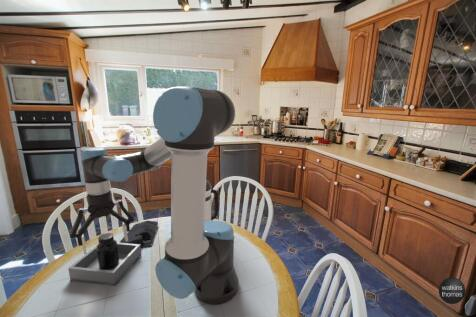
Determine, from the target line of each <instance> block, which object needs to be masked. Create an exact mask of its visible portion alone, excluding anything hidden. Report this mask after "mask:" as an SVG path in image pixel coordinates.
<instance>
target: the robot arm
mask: <svg viewBox="0 0 476 317" xmlns="http://www.w3.org/2000/svg"><path fill="white" fill-rule="evenodd" d="M235 118H236V108H235V104H234V102H233V101H232V99H231V98H230V96H228V95H227V94H226V93H225V92H223V91H221V90H218V89H207V88H201V87H191V86H173V87H169V88H167V89H165V90H164V91H163V92H162V93H161V95H160V96H159V97H158V98H157V100H156V102H155V104H154V107H153V111H152V121H153V122H152V123H153V126H154V129H156V133H157V135H158V136H159V137H160V138H158V139H157V140H156V141H155V142H153V143H152V144H150V145H149V146H147V147H146V148H144V149H142V151H138V152H132V153H125V154H121V155H117V156H116V155H115V156H110V155H109V156H108V153H107V150H106V149H105V148H104V147H93V148H91V147H90V148H85V149H83V150H81V152H80V156H81V161H80V162H81V164H82V165H81V166H82V171H83V177H84V182H85V183H84V184H85V190H86V194H87V195H86V198H87V204H88V206H87V207H85V208H82V207H78V210H77V216H76V219H75V221H74V223H73V226H72V228H71V231H70V233H69V236H70V238H71V239H74V238H76V239H77V244H78V246H79V247H82V250H83V251H82V252H83V254H84V255H85V254H87V253H88V252H87V248H86V247H87V246H86V241H85V236H84V234H85V232H86V231H87V229H88V228H89V226H90V225H91V224H92V222H94V220H96V218H97V219H100V218H103V217H108V216H109V215H111V216H113V217H115V218H116V219H117V220H119V221H121V222H122V230H123V231H122V232H123V237H124V239H125V240H126V241H128V236H127V233H128V232H129V231H130V230H131V228H130V224H131V223H133V222H134V221H135V218H134V217H133V215H132V214H131V213H129V211H128V210H127V208H126V207H125V206H124V202H123V201H122V200H121V199H119V198H118V200H116V201H114V200H113V195H112V185H111V182H115V183H116V182H117V183H118V182H119V183H123V182H126V181H128V180H129V179H130V178H131V177H132V176H135V175H138V174H142V173H146V172H150V171H154V170H157V169H159V168H161V167H162V166H163V164H164V163H165V162H167V161H168V160H170V159H171V160H170V161H171V162H170V164H171V165H170V166H171V167H170V169H171V170H170V172H171V174H170V175H171V176H170V178H171V180H170V183H171V185H170V186H171V187H170V188H171V189H170V190H171V191H170V195H171V196H170V198H171V199H170V201H171V202H170V237H169V238H168V239H167V240H166V242H165V245H164V257H163V258H160V259H159V261H157V263H156V265H155V269H154V270H155V276H156V278H157V281H158V282H159V284H160V286H161V287H162V288H163V290H164V291H165V292H167V293H168V294H169V295H170V296H171V297H173V298H175V299H179V300H182V299H186V298H188V297H189V296H191V294H193V293H194V295H195V296H196V298H197V299H198V300H199V301H200V302H203V303H205V304H209V305H220V304H224V303H227V302H229V301H230V300H232V299H233V298H234V297H235V296H236V295H237V293H238V291H239V284H240V283H239V278H238V275H237V274H238V273H237V271H236V268H235V265H234V258H235V257H234V255H235V254H234V253H235V252H234V247H235V246H234V245H235V241H234V240H235V236H234V235H235V234H234V233H235V232H234V228H233V226H232V225H231V224H230V223H227V222H226V221H222V220H212V221H205V222H204V218H205V196H206V180H207V175H208V173H207V172H208V171H207V170H208V169H207V168H208V154H209V152H210V151H212V150H213V149H214V148H215V137H217V136H219V135H221V134H224V133H225V132H227V131H228V130H229V129H230V128H232V126H233V123H234V122H235ZM115 206H116V207H118V208H120V209H121V211H122V212H123V213H124V215H125V216H126V217H127V218H125V217H124V216H123V215H121V213H119V212H117V211H115V209H114V207H115ZM86 213H89V215H88V217H87V218H86V220H85V221H84V222H83V224H82V225H81V222H82V220H83V218H84V216H85V215H86ZM80 225H81V227H80ZM79 227H80V228H79ZM84 255H83V256H84Z"/></svg>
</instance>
